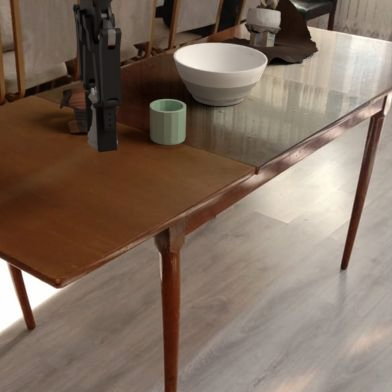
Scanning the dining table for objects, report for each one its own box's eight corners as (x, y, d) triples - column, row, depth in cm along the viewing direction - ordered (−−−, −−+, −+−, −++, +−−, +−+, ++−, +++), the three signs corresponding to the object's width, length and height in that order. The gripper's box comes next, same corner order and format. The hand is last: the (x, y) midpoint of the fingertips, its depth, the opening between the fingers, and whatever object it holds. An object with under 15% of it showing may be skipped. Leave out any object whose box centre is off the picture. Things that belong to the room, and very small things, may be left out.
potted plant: (215, 59, 161) (230, -55, 151) (267, 66, 173) (283, -38, 163) (270, 65, 148) (290, -58, 138) (321, 73, 159) (343, -40, 149)
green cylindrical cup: (157, 147, 114) (157, 114, 111) (145, 133, 119) (144, 101, 115) (190, 142, 117) (191, 109, 113) (177, 128, 121) (177, 97, 117)
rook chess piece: (98, 136, 94) (95, 81, 89) (123, 143, 93) (122, 87, 88) (81, 146, 91) (77, 91, 86) (107, 154, 90) (104, 97, 85)
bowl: (217, 75, 145) (219, 37, 139) (282, 99, 135) (287, 59, 129) (154, 94, 134) (153, 54, 129) (219, 122, 124) (222, 79, 119)
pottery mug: (54, 136, 118) (48, 89, 116) (78, 140, 126) (73, 97, 125) (112, 127, 114) (106, 79, 112) (132, 133, 123) (128, 88, 121)
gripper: (146, -27, 72) (146, 164, 87) (101, -55, 84) (108, 118, 99) (83, -25, 69) (94, 172, 85) (45, -54, 81) (61, 123, 97)
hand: (102, 142), depth 92 cm, fingers closed on rook chess piece, 4 cm apart
